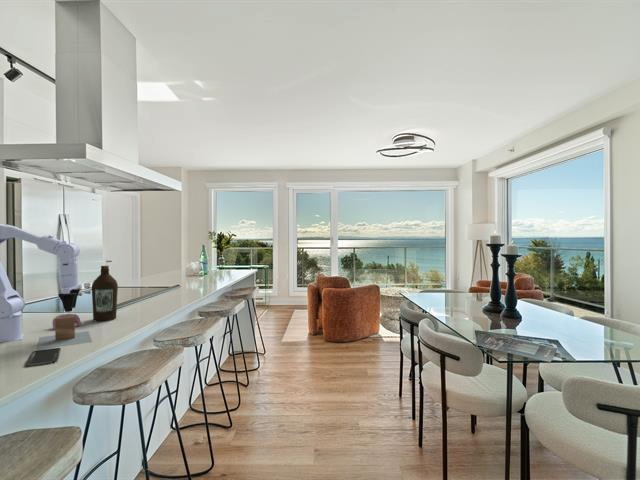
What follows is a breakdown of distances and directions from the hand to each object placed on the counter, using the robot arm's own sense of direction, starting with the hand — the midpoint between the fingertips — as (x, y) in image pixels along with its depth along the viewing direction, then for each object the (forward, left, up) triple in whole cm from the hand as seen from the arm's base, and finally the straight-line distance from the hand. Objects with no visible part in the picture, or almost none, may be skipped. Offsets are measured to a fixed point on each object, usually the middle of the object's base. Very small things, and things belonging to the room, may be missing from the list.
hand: (70, 309), depth 143 cm
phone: (+24, -8, -11) cm, 27 cm away
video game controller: (-17, -1, -11) cm, 20 cm away
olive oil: (-26, +14, -11) cm, 32 cm away
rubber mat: (+5, -2, -11) cm, 12 cm away
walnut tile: (+4, -2, -10) cm, 11 cm away
